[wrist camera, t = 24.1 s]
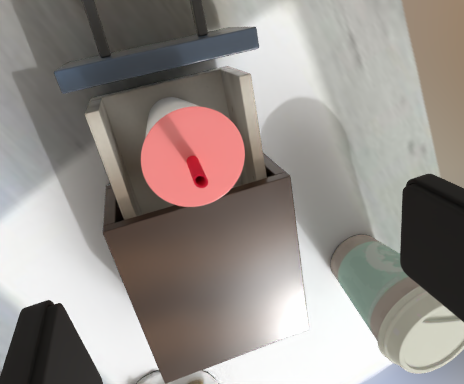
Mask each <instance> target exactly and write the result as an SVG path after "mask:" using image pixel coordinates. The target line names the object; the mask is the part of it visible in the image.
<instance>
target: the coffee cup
mask: <svg viewBox="0 0 464 384" xmlns="http://www.w3.org/2000/svg"><path fill="white" fill-rule="evenodd" d="M331 270H332V272H333V274H334V276H335V277H336V279H337V280H338V282H339V283H340V285H341V286H342V288H343V289H344V291H345V292H346V294H347V295H348V297H349V298H350V300H351V301H352V303H353V305H354V306H355V308H356V309H357V311H358V312H359V314H360V315H361V317H362V318H363V320H364V321H365V323H366V324H367V326H368V327H369V329H370V330H371V332H372V333H373V335H374V336H375V338H376V339H377V341H378V346H379V349H380V351H381V353H382V354H383V355H384V356H385V357H387V358H388V359H389V360H390V361H391V362H392V363H394V364H397V365H399V366H400V367H402V368H403V369H405V370H406V371H408V372H411V373H426V372H430V371H433V370H436V369H438V368H440V367H442V366H444V365H445V364H447V363H448V362H450V361H451V360H452V359H454V358H455V357H456V356H457V355H458V354H459V353H460V352H461V351H462V350H463V349H464V322H463V321H462V320H460V319H459V318H458V317H457V316H456V315H454V314H453V313H452V312H451V311H449V310H448V309H447V308H446V307H445V306H443V305H442V304H441V303H440V302H439V301H437V300H436V299H435V298H434V297H433V296H431V295H430V294H429V293H428V292H427V291H425V290H424V289H423V288H422V287H421V286H419V285H418V284H417V283H416V282H415V281H413V280H412V279H411V278H410V277H409V276H407V275H406V274H405V273H404V271H403V270H402V268H401V264H400V254H399V253H397V252H396V251H394V250H392V249H391V248H389V247H387V246H386V245H384V244H382V243H381V242H379V241H377V240H376V239H374V238H372V237H371V236H368V235H363V234H362V235H355V236H352V237H350V238H348V239H347V240H345V241H344V242H342V243H341V244H340V245H339V246H338V248H337V249H336V250H335V252H334V254H333V256H332V259H331Z"/></svg>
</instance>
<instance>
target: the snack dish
mask: <svg viewBox="0 0 464 384" xmlns="http://www.w3.org/2000/svg"><path fill="white" fill-rule="evenodd" d="M137 384H165V383H164V380H163V378H162V375H161V373H160V371H158V372H152V373H151V374H149V375H147V376H145V377H144V378H142V379H141V380H140V381H139V382H137ZM167 384H218V383H217V381H216V379H214V378H213V377H212V376H211V375H210V374H208V373H206V372H204V371H198V372H195V373H193V374H190V375H188V376H185V377H182V378H180V379H177V380H174V381H172V382H169V383H167Z"/></svg>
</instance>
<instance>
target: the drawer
mask: <svg viewBox="0 0 464 384" xmlns="http://www.w3.org/2000/svg"><path fill="white" fill-rule="evenodd" d="M82 2H83V5H84V8H85V11H86V14H87V17H88V20H89V23H90V26H91V29H92V32H93V36H94V39H95V42H96V45H97V48H98V51H99V54H100V55H99V56H95V57H90V58H85V59H81V60H76V61H72V62H68V63H66V64H65V65H63V66H62V67H60V68H59V69H57V70H56V71H54V74H55V77H56V79H57V82H58V85H59V87H60V90H61V92H62V93H63V94H64V93H69V92H73V91H77V90H82V89H86V88H90V87H95V86H99V85H103V84H108V83H112V82H116V81H121V80H125V79H129V78H134V77H138V76H142V75H147V74H151V73H155V72H160V71H164V70H168V69H172V68H177V67H181V66H185V65H190V64H194V63H198V62H203V61H207V60H211V59H216V58H220V57H224V56H229V55H233V54H237V53H242V52H246V51H250V50H255V49H258V48H259V43H258V36H257V29H256V27H228V28H223V29H219V30H214V31H210V32H207V27H206V21H205V16H204V11H203V6H202V1H201V0H190V4H191V8H192V13H193V18H194V23H195V28H196V32H197V34H196V35H191V36H187V37H182V38H177V39H173V40H168V41H164V42H159V43H154V44H150V45H145V46H141V47H136V48H131V49H127V50H122V51H118V52H113V53H110V50H109V47H108V44H107V40H106V37H105V34H104V31H103V28H102V25H101V21H100V18H99V15H98V12H97V9H96V6H95V2H94V0H82ZM167 97H176V98H179V99H182V100H185V101H188V102H190V103H193V104H195V105H198V106H200V107H206V108H210V109H213V110H216V111H218V112H220V113H222V114H223V115H225V116H226V117H227V118H229V119H230V120H231V121H232V122H233V123H234V125H235V126H236V127H237V129H238V130H239V132H240V134H241V137H242V140H243V143H244V149H245V159H244V165H243V169H242V172H241V174H240V176H239V178H238V180H237V182H236V183H235V185H234V186H233V187H232V188H234V187H237V186H241V185H244V184H248V183H251V182H254V181H258V180H261V179H264V178H267V176H266V169H265V163H264V156H263V150H262V143H261V137H260V131H259V124H258V118H257V111H256V105H255V98H254V92H253V85H252V79H251V74H250V73H247V72H244V71H241V70H238V69H235V68H232V67H229V66H225V67H221V68H217V69H213V70H208V71H204V72H200V73H196V74H191V75H187V76H183V77H179V78H174V79H170V80H166V81H162V82H158V83H153V84H149V85H145V86H141V87H136V88H132V89H128V90H124V91H119V92H115V93H111V94H107V95H103V96H98V97H94V98H91V99H90V102H89V104H88V107H87V109H86V112H85V117H86V119H87V122H88V125H89V128H90V130H91V133H92V136H93V138H94V141H95V144H96V146H97V149H98V152H99V154H100V157H101V160H102V162H103V165H104V168H105V170H106V173H107V176H108V178H109V181H110V184H111V186H112V189H113V192H114V195H115V197H116V200H117V203H118V205H119V208H120V211H121V213H122V216H123V219H124V220H127V219H130V218H133V217H137V216H140V215H143V214H147V213H150V212H153V211H157V210H160V209H164V208H167V207H170V206H174V205H175V204H172V203H169V202H167V201H165V200H164V199H162V198H161V197H159V196H158V195H157V194H156V193H155V192H154V191H153V190H152V189H151V188H150V186H149V185H148V183H147V182H146V180H145V177H144V175H143V172H142V167H141V151H142V146H143V143H144V140H145V136H146V128H147V120H148V115H149V112H150V110H151V108H152V107H153V105H154V104H155V103H156V102H158V101H159V100H161V99H163V98H167Z"/></svg>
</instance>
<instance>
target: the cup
mask: <svg viewBox="0 0 464 384" xmlns="http://www.w3.org/2000/svg"><path fill="white" fill-rule="evenodd" d="M244 159H245V149H244V143H243V140H242V137H241V134H240V132H239V130H238V129H237V127H236V126H235V125H234V123H233V122H232V121H231V120H230V119H229V118H227V117H226V116H225V115H223V114H222V113H220V112H218V111H216V110H213V109H210V108H206V107H200V106H198V105H195V104H193V103H190V102H188V101H185V100H182V99H179V98H176V97H167V98H163V99H161V100H159V101H158V102H156V103H155V104H154V105H153V107H152V108H151V110H150V112H149V115H148V120H147V128H146V136H145V140H144V143H143V146H142V151H141V167H142V172H143V175H144V177H145V180H146V182H147V183H148V185H149V186H150V188H151V189H152V190H153V191H154V192H155V193H156V194H157V195H158V196H159V197H161V198H162V199H164V200H165V201H167V202H169V203H172V204H175V205H178V206H184V207H196V206H202V205H206V204H209V203H212V202H214V201H216V200H218V199H219V198H221V197H222V196H224V195H225V194H226V193H227V192H228V191H229V190H230V189H231V188H232V187H233V186H234V185H235V183H236V182H237V180H238V178H239V176H240V174H241V172H242V169H243V165H244Z"/></svg>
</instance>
